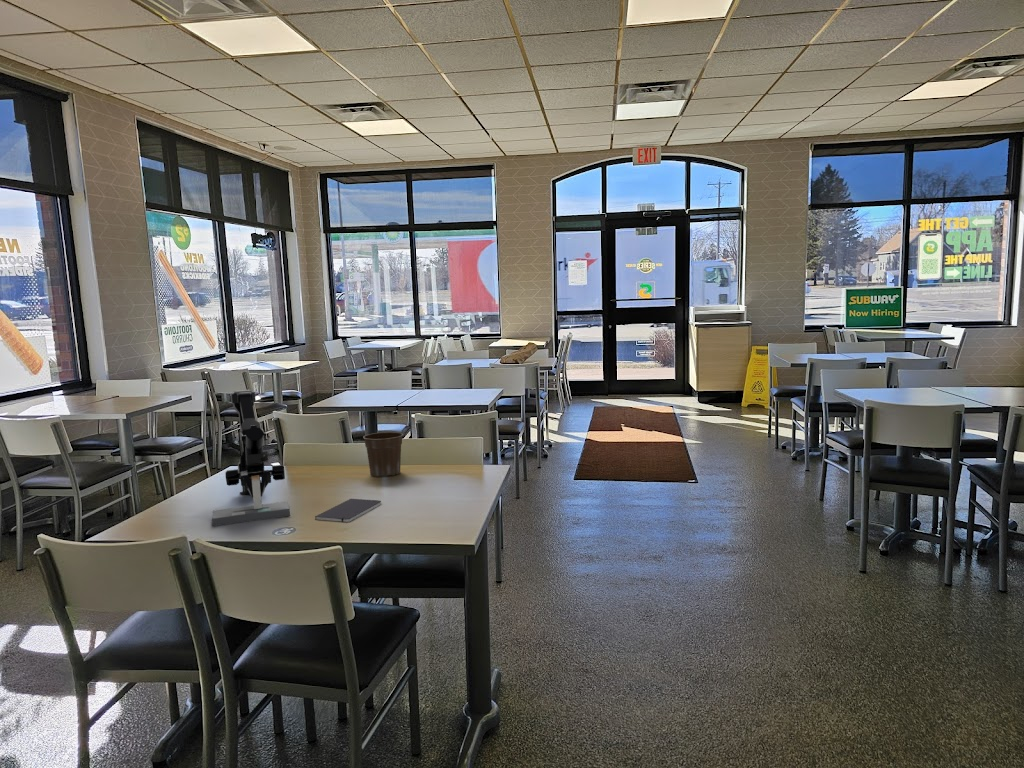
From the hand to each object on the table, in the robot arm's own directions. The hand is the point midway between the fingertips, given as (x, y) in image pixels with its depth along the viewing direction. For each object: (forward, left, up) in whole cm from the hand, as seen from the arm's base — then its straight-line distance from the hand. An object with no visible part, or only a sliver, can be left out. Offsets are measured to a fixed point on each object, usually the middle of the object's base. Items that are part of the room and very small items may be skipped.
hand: (257, 496), depth 233 cm
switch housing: (-2, 0, -7) cm, 7 cm away
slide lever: (-1, +1, -4) cm, 4 cm away
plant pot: (+7, +63, -7) cm, 64 cm away
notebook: (+26, +15, -8) cm, 31 cm away
